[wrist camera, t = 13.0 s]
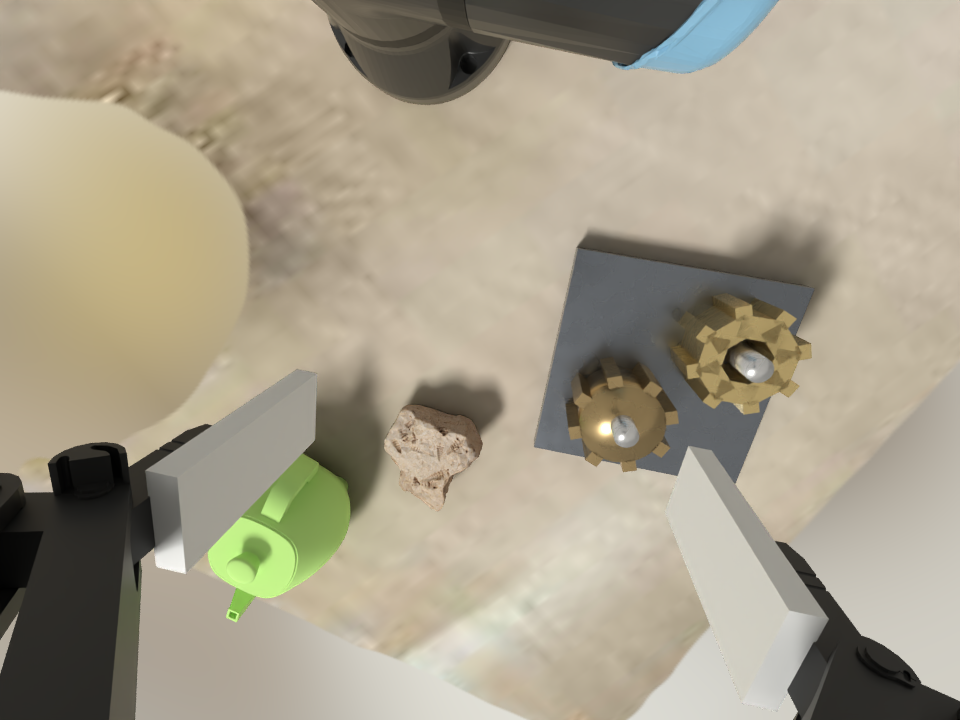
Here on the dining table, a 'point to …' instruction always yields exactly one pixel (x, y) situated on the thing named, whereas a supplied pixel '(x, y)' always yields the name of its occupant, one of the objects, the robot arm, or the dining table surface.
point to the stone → (431, 450)
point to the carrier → (647, 364)
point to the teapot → (283, 534)
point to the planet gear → (726, 329)
